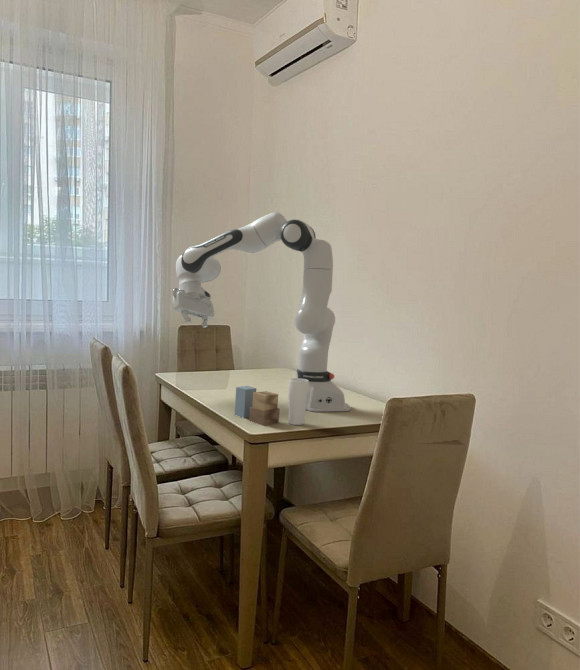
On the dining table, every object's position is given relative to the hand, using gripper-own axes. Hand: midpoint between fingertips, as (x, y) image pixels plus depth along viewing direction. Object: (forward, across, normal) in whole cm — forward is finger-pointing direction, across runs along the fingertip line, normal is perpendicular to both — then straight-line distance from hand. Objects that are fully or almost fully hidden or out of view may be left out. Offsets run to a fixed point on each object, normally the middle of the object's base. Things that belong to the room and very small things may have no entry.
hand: (196, 324), depth 226 cm
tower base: (+47, -4, -24) cm, 53 cm away
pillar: (+42, -2, -16) cm, 45 cm away
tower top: (+43, -5, -27) cm, 51 cm away
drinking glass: (+50, +3, -33) cm, 60 cm away
